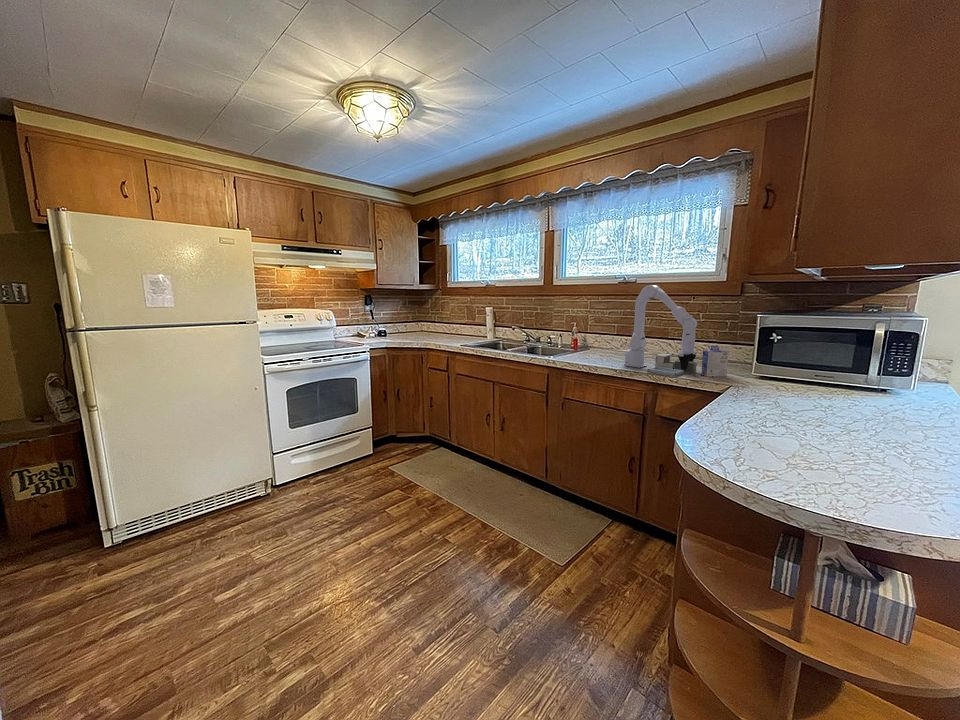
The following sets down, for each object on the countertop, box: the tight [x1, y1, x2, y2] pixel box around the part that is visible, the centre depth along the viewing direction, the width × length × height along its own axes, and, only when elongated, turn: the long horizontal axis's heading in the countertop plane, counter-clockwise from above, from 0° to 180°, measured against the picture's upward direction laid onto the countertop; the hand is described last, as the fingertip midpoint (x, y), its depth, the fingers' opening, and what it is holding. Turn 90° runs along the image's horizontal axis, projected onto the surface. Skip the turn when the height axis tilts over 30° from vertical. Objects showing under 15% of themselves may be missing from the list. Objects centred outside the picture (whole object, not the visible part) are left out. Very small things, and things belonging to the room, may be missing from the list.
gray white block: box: [674, 359, 698, 374], centre depth 198 cm, size 9×4×5 cm, turn 40°
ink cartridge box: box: [700, 345, 729, 378], centre depth 187 cm, size 10×6×14 cm, turn 89°
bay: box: [654, 353, 675, 369], centre depth 205 cm, size 9×8×7 cm
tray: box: [646, 366, 685, 378], centre depth 194 cm, size 14×9×2 cm, turn 39°
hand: (686, 368), depth 198 cm, fingers closed on gray white block, 4 cm apart
